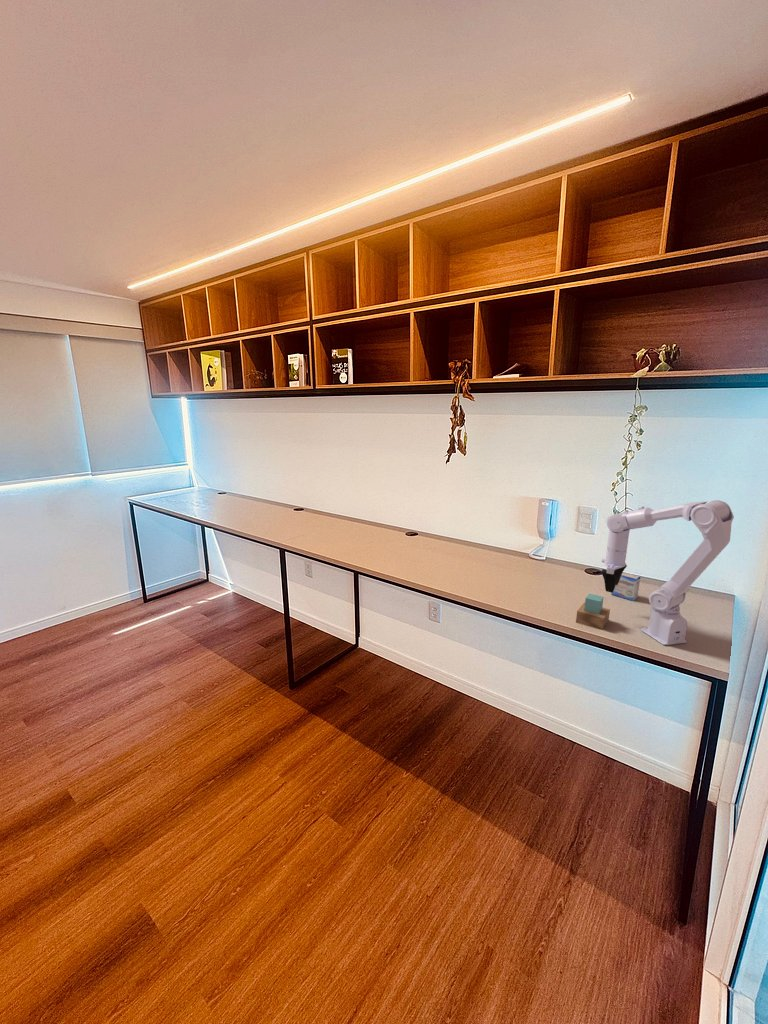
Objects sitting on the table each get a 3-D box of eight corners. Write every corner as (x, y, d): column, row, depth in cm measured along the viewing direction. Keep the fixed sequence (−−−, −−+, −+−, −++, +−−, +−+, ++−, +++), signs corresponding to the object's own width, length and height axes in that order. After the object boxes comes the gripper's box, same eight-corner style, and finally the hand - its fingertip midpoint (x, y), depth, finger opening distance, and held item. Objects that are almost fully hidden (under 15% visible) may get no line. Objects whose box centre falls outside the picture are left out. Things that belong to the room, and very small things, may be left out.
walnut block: (608, 620, 143) (609, 609, 142) (602, 629, 137) (603, 618, 136) (582, 613, 148) (584, 602, 147) (575, 622, 142) (577, 611, 141)
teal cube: (602, 609, 142) (603, 596, 141) (598, 614, 139) (600, 601, 138) (587, 605, 145) (589, 593, 144) (584, 610, 142) (585, 597, 141)
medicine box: (610, 595, 163) (613, 573, 161) (614, 591, 166) (617, 570, 164) (633, 601, 157) (637, 579, 155) (637, 597, 160) (640, 575, 158)
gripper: (608, 541, 150) (603, 578, 153) (598, 552, 139) (593, 591, 142) (631, 545, 146) (626, 583, 149) (623, 557, 135) (617, 597, 138)
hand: (611, 587), depth 145 cm, fingers open, 7 cm apart
